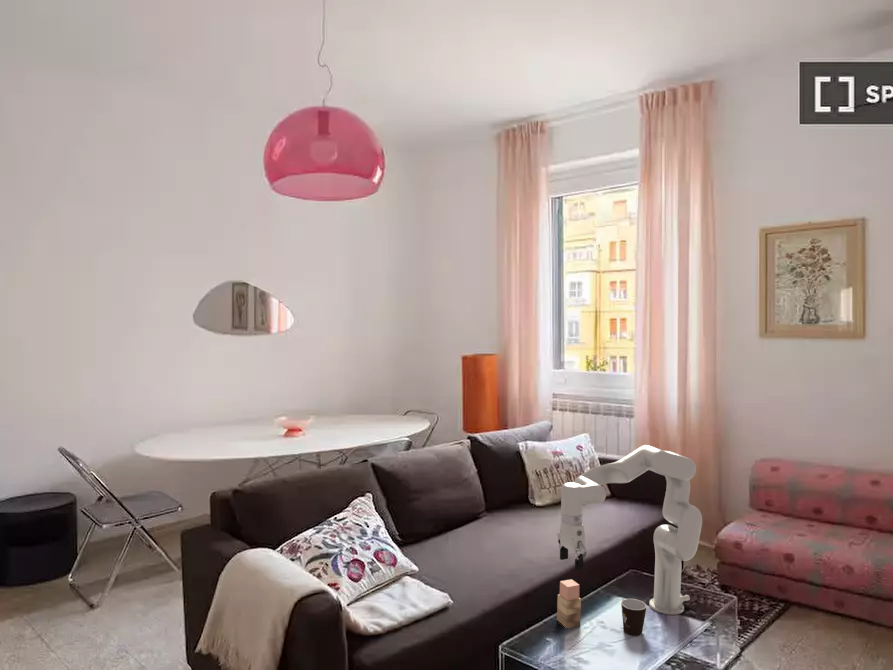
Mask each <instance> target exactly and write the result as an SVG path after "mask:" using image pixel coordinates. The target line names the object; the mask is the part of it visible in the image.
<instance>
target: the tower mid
mask: <svg viewBox="0 0 893 670" xmlns="http://www.w3.org/2000/svg"><path fill="white" fill-rule="evenodd" d="M556 604H557V605H556V606H557V608H558V609H559V610H561V611H562V612H563V613H564V614H565V615H570V614H575V613H580V612H581V611H582V609H581V608H582V598H580V597H579V599H574V600H568V601H567V600H566V599H564V598H563V597H562V596H561V595H560V593H559V594H557V603H556ZM557 608H556V609H557Z"/></svg>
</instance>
